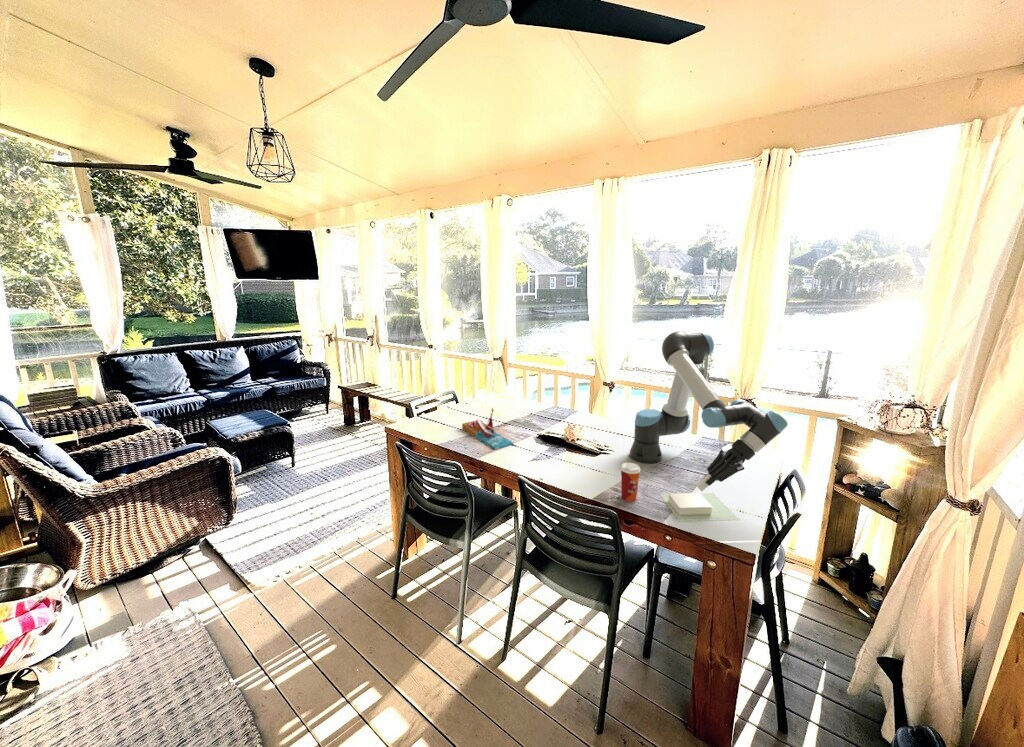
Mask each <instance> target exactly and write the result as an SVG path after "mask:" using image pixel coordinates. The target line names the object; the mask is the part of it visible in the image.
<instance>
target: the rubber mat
mask: <svg viewBox="0 0 1024 747" xmlns="http://www.w3.org/2000/svg"><path fill="white" fill-rule="evenodd" d="M699 493H700V494H701V496H702V497H703V498H704V499H705V500H706V501H707V502H708V503H709V504H710V505H711V506H712V512H711V514H700V515H679V514H678V513H677V512H676V510H675V509H674V508H673V506H672V505H671V504H670V502H669V501H668V497H669V494H670V493H659V496H660V497H661V498H662V500H664V502H665V504H666V505H667V506H668V508H669V509H670V511H671V512H672V513H673V515H674V516H675V517H676V518H677V520H678V522H707V521H711V522H712V521H740V518H739V517H738V516H737V515H736V514H735V513H734V512H733V511H732V510H730V508H729V507H728V506H727V505H726V504H725V503H724V502H723V501H722V500H721V498H719V497H718V496H717V495H716V494H715V493H714V492H699Z"/></svg>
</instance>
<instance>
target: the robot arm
mask: <svg viewBox="0 0 1024 747" xmlns="http://www.w3.org/2000/svg"><path fill="white" fill-rule="evenodd" d="M714 348H715V344H714V340H713V337H712V336H711V335H710V333H709V332H707V331H706V330H697V329H696V330H687V331H686V330H685V331H675V332H671V333H670V334H668V335H667V336H666V337H665V339H664V340H663V342H662V346H661V352H662V356H663V358H664V360H665V362H666V363H667V365H668V366H670V367H672V368H673V369H674V370H675V373H674V377H673V381H672V385H671V388H670V392H669V395H668V399H667V403H665V404H663V405H662V407H661V408H662V409H661V411H660V410H658V409H653V408H651V409H649V408H647V409H642V410H639V411H637V413H636V415H635V420H634V438H633V439H634V440H633V442H632V444H631V448H630V450H629V457H630V458H631V459H632V460H634V461H635V462H640V463H644V464H654V463H659V462H661V461H662V460H663V459H662V458H663V454H662V451H661V446H660V437H664V436H670V435H672V436H673V435H679V434H683V433H685V432H686V431H687V430H689V428H690V425H691V419H690V418H691V417H690V414H689V412H688V410H687V409H686V407H687V404H688V401H689V399H690V395H692V396H693V399H695V401H696V402H697V404H698V405H699V407H700V408H701V409H702V412H701V419H702V423H703V425H704V426H706V427H708V428H713V429H714V428H718V429H719V428H724V427H728V426H735V425H736V426H738V425H745V426H747V427H748V428H749V429H748V430H746V431H745V432H744V433H743V434H741V436H740V437H739V439H737V440H735V441H734V442H733V443H732V444H731V448H729V449H728V450H726V451H724V450H723V449H721V450H719V452H718V455H717V456H716V457H715V458H714V460H713V461H712V462H711V463H710V464H709V466H707V468H706V470H707V474H706V475H704V476H703V477H702V478H701V480H700V481H698V482H697V483H696V484H695V486H696V488H697V489H699V490H700V491H701V492H704V491H705V489H708V487H710V486H712V484H714V483H715V482H717V481H718V482H721V483H722V482H724V481H725V480H727V479H728V478H730V477H731V476H733V475H735V474H737V473H738V472H741V471H744V470H745V467H744V465H743V464H744V463H745V461H746V460H747V461H749V460H751V459H752V458H753V457H754V456H755V455H756V453H759V452H760V451H761V450H762V449H763V448H764V447H766V446H767V445H768V444H769V443H771V441H772V440H774V439H775V438H776V437H777V436H778V435H780V434H781V433H782V432H783V431H784V430H785V429H786V428H787V427H788V422H787V420H786V419H785V418H784V417H783V416H782V415H781V414H779V413H778V412H776V411H774V410H770V411H768V412H764V411H763V410H761V409H759V408H758V407H756V406H755V405H753V404H752V403H751V402H748V401H746V400H745V399H742V398H738V399H736V400H734V401H732V402H731V403H730V404H729V405H725V403H724V402H723V401H722V400H721V398H720V397H719V396H718V394H717V393H716V392H715V390H714V389H713V388H712V386H711V385H710V383H709V382H708V381H707V379H706V378H705V377H704V375H703V374H702V372H701V371H700V369H699V366H701V365H702V364H703V363H704V362H705V358H706V357H709V356H710V355H712V353H713V351H714V350H715V349H714Z"/></svg>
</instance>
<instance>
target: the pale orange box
mask: <svg viewBox="0 0 1024 747" xmlns="http://www.w3.org/2000/svg"><path fill="white" fill-rule="evenodd" d="M700 493H701V492H692V493H691V492H689V493H688V492H685V493H682V492H681V493H678V492H677V493H668V494H669V497H668V501H669V502H670V504H671V505H672V506H673V508H674V509H675V510H676V512H677V513H678V514H679V515H700V514H711V512H712V506H711V505H710V504H709V503H708V502H707V501H706V500H705V499H704V498H703V497H702V496H701V494H700Z"/></svg>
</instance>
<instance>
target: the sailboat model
mask: <svg viewBox="0 0 1024 747" xmlns="http://www.w3.org/2000/svg"><path fill="white" fill-rule="evenodd" d="M494 411H495V409H494V408H493V407H492V408H491V413H490V416H489V419H488V421H487V423H484V422H483V420H480V419H476V420H473V421H468V422H464V423H462V424H461V426H462V427H461V429H463V430H462V431H464V432H465V431H466V432H465V433H467V434H469V435H470V434H471V435H470V436H472V437H473V436H474V438H475V439H477V440H478V439H479V440H478V441H480V442H481V441H482V442H481V443H483V444H484V445H486V446H488V447H490V448H491V449H493V450H495V451H496V449H497V450H499V449H503V448H506V447H507V448H508V447H509V446H510V445H511V446H513V445H514V442H513V441H512V440H509V439H508V438H505V437H504V436H502V435H500V434H498V433H497V432H496V430H494V425H493V424H494V423H493V418H492V416H493V415H494ZM511 446H510V447H511Z"/></svg>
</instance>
